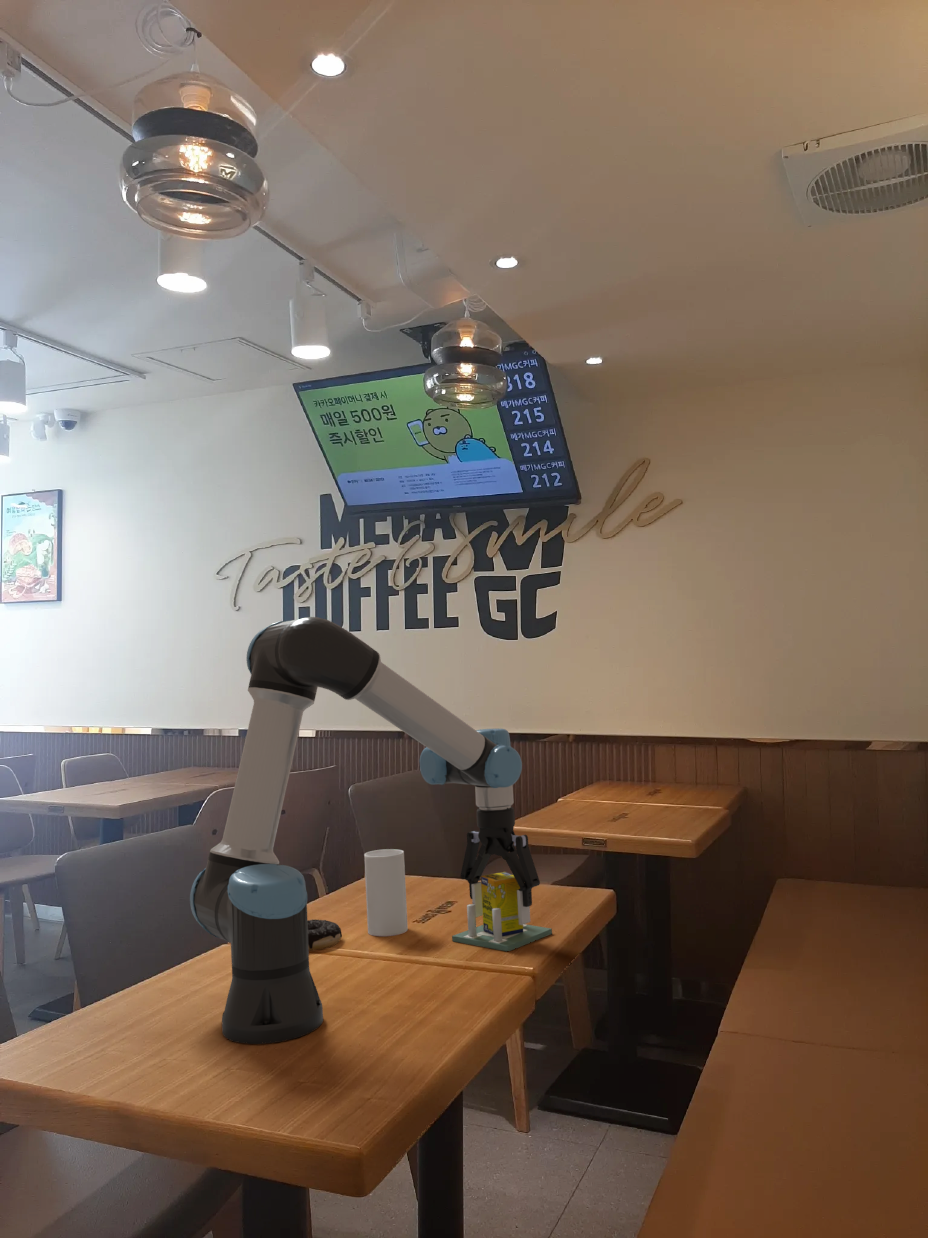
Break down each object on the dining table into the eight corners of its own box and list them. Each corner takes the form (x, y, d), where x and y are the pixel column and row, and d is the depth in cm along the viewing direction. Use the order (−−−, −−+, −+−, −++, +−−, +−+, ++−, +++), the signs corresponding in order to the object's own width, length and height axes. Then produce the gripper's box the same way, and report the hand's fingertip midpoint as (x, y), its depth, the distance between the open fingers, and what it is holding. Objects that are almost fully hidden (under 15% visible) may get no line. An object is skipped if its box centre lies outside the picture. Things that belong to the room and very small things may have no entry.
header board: (508, 951, 179) (506, 913, 179) (452, 941, 188) (450, 905, 189) (552, 933, 190) (550, 898, 190) (497, 924, 199) (495, 890, 199)
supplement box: (482, 931, 190) (479, 875, 191) (508, 926, 193) (505, 871, 193) (497, 938, 185) (494, 880, 185) (524, 932, 187) (521, 876, 188)
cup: (410, 925, 202) (406, 848, 203) (404, 936, 194) (400, 856, 195) (372, 926, 203) (368, 849, 204) (364, 937, 195) (360, 857, 196)
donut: (274, 951, 189) (274, 931, 189) (303, 935, 200) (302, 915, 200) (325, 954, 185) (324, 933, 185) (352, 937, 196) (351, 917, 196)
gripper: (554, 807, 186) (560, 922, 184) (463, 801, 201) (469, 908, 200) (530, 812, 180) (537, 932, 179) (439, 806, 195) (444, 916, 194)
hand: (501, 919), depth 189 cm, fingers open, 11 cm apart
